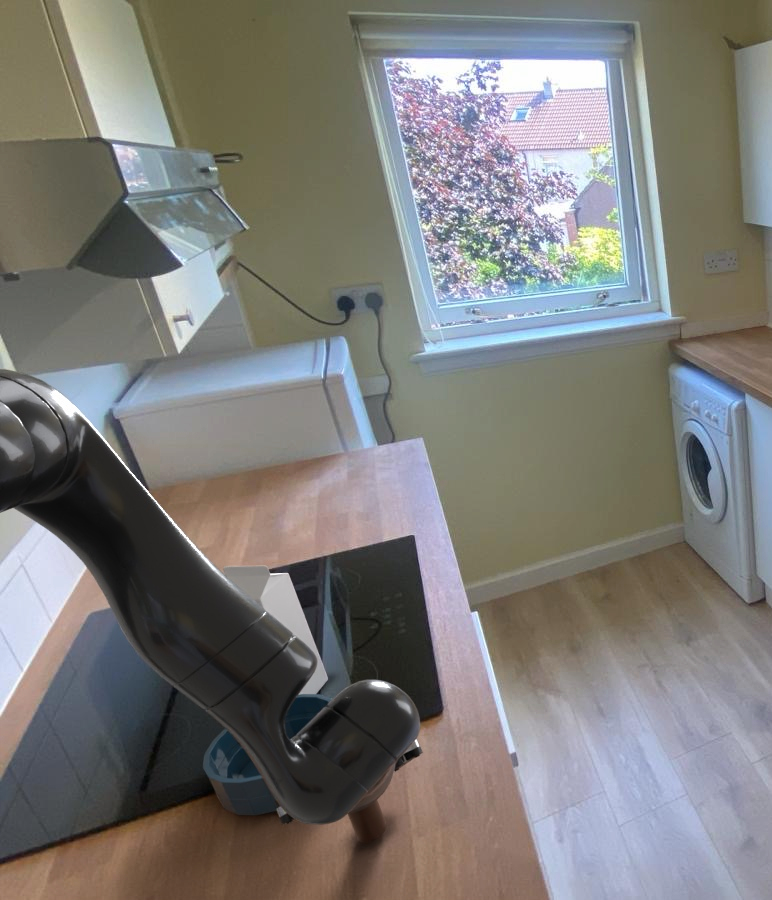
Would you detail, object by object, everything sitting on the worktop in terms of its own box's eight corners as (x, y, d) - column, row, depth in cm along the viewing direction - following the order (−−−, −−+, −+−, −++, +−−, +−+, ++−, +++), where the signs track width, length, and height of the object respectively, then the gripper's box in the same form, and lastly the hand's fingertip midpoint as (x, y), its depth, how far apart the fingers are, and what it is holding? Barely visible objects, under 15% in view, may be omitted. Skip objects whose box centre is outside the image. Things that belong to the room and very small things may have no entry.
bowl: (274, 833, 85) (256, 797, 82) (193, 798, 90) (174, 763, 87) (377, 743, 97) (365, 709, 94) (301, 716, 102) (288, 683, 99)
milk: (289, 680, 108) (237, 553, 99) (329, 679, 108) (282, 552, 99) (261, 710, 103) (204, 579, 94) (304, 709, 103) (251, 578, 94)
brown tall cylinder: (370, 846, 83) (345, 782, 78) (351, 838, 84) (325, 774, 79) (392, 824, 85) (369, 761, 81) (373, 816, 86) (350, 754, 82)
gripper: (413, 696, 75) (406, 721, 88) (249, 772, 66) (268, 787, 80) (442, 764, 74) (430, 779, 87) (278, 851, 65) (293, 853, 78)
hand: (353, 783), depth 83 cm, fingers closed on brown tall cylinder, 3 cm apart
